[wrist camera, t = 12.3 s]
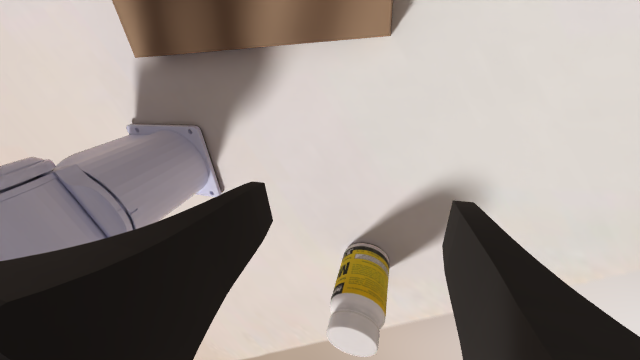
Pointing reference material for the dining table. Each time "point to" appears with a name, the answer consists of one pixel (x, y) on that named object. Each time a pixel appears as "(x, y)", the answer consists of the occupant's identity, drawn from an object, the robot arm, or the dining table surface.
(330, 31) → the jig board
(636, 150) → the dining table surface
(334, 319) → the supplement bottle
